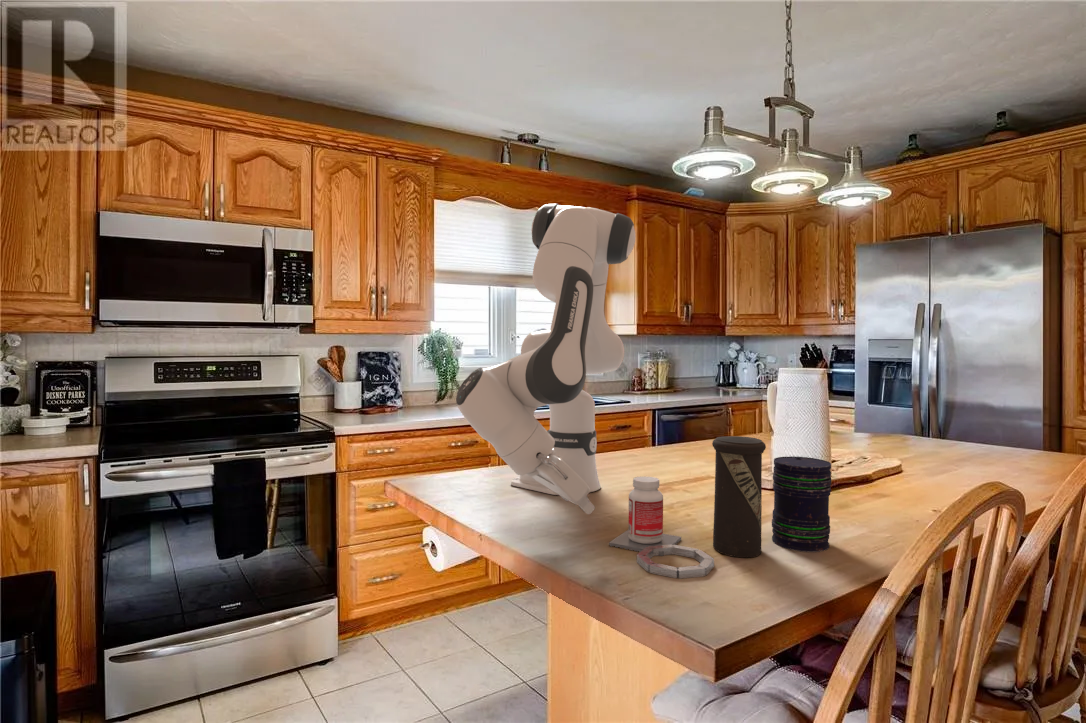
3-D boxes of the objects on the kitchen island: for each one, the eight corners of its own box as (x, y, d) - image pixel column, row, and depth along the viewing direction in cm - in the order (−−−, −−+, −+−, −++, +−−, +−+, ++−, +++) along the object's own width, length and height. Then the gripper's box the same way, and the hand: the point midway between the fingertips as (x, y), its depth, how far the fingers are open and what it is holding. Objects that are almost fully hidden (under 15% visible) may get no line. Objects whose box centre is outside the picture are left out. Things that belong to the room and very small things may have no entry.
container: (734, 561, 104) (736, 442, 103) (700, 545, 112) (702, 434, 111) (774, 554, 107) (777, 439, 106) (738, 539, 115) (740, 431, 115)
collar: (628, 568, 100) (628, 560, 100) (653, 547, 110) (654, 541, 110) (699, 583, 94) (699, 575, 94) (719, 560, 104) (719, 552, 104)
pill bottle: (669, 541, 112) (670, 480, 112) (644, 547, 109) (645, 484, 108) (646, 532, 117) (647, 473, 117) (621, 537, 114) (621, 477, 113)
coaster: (608, 545, 111) (608, 542, 111) (630, 531, 120) (630, 527, 120) (662, 556, 106) (662, 552, 106) (681, 540, 115) (681, 536, 115)
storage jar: (836, 554, 108) (838, 468, 107) (777, 550, 110) (778, 465, 109) (821, 536, 118) (823, 457, 117) (767, 532, 119) (768, 455, 119)
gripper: (564, 445, 98) (617, 504, 101) (524, 429, 117) (570, 479, 120) (536, 474, 96) (591, 533, 100) (500, 453, 115) (547, 503, 119)
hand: (579, 504), depth 110 cm, fingers open, 8 cm apart
